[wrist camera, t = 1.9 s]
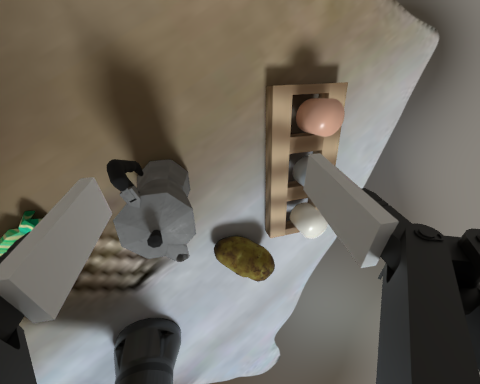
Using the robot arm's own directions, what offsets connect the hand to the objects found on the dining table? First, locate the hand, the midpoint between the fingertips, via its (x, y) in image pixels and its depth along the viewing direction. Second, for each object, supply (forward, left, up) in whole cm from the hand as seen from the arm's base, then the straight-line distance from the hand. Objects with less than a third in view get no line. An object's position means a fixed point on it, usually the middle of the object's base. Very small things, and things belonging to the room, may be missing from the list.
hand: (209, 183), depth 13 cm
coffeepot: (-8, +6, -26) cm, 27 cm away
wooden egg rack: (-9, -21, -25) cm, 34 cm away
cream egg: (-19, -21, -22) cm, 36 cm away
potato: (-27, -8, -26) cm, 38 cm away
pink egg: (+1, -21, -22) cm, 30 cm away
